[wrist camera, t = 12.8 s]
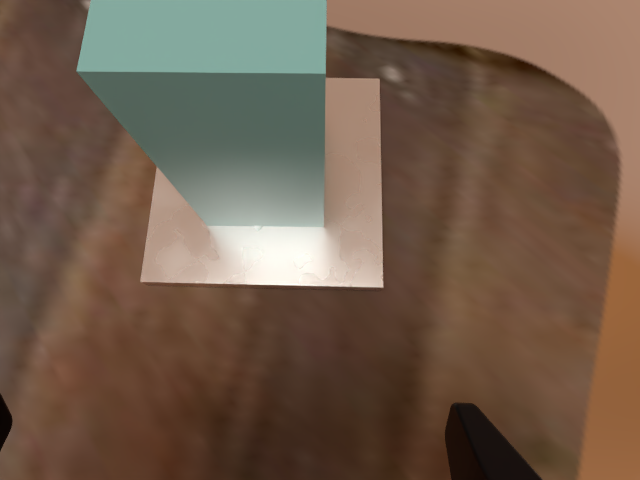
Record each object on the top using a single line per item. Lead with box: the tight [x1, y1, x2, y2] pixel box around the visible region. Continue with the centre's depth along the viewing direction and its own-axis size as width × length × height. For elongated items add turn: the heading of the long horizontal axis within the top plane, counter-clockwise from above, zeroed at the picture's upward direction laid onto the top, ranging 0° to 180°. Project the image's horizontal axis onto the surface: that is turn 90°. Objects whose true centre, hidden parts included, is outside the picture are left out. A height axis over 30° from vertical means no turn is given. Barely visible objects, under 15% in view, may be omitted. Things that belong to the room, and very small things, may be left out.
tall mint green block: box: [77, 0, 327, 227], centre depth 17 cm, size 6×6×12 cm
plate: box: [140, 78, 383, 291], centre depth 22 cm, size 12×12×4 cm
